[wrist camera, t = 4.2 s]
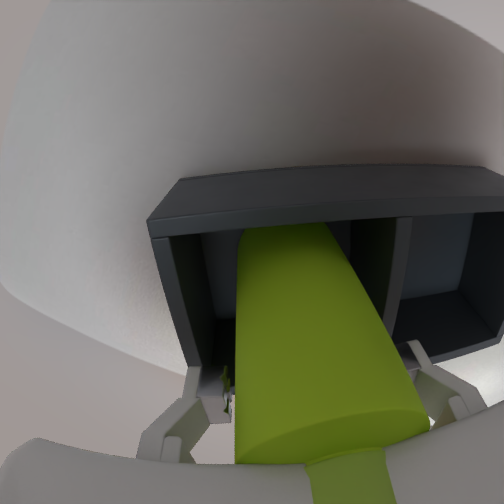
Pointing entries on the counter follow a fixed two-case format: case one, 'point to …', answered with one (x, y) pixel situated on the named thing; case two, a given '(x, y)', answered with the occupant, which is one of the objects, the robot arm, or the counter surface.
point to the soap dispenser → (316, 367)
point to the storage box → (343, 248)
